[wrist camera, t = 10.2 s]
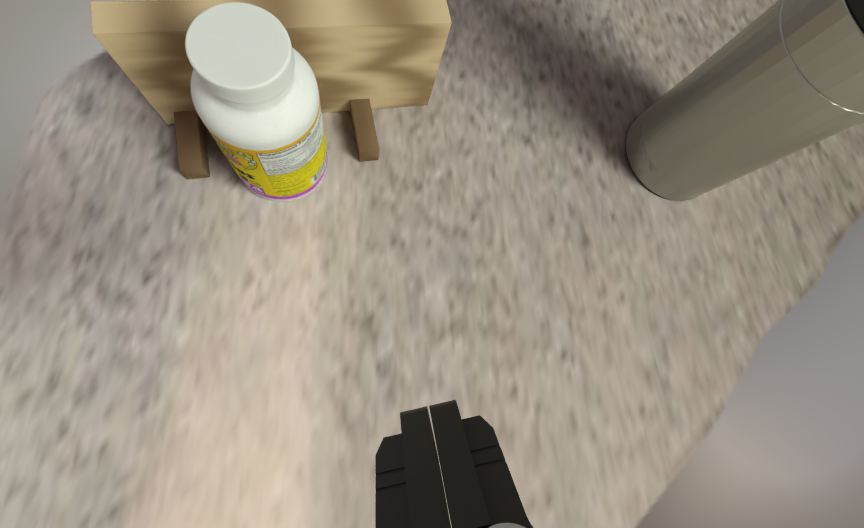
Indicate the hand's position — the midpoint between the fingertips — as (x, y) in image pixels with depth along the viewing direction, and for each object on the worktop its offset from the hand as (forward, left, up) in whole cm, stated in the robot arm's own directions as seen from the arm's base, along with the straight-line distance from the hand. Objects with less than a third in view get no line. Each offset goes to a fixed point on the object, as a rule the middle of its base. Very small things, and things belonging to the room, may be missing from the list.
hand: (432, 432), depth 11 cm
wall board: (+2, -20, -19) cm, 28 cm away
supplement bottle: (+5, -17, -19) cm, 27 cm away
